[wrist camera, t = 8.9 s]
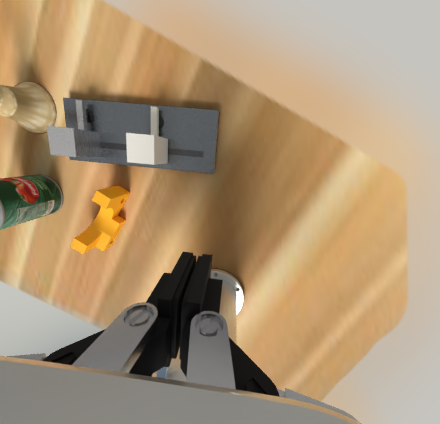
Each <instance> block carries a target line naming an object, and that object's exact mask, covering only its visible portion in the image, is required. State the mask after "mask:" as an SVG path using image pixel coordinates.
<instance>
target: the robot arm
mask: <svg viewBox="0 0 440 424" xmlns="http://www.w3.org/2000/svg"><path fill="white" fill-rule="evenodd" d="M211 266H212V255H207V254H203V255H202V256H199V257H198V259H197V262H196V256H194V255H193V253H190V252H183V253H182V254H181V256H180V258H179V260H178V262H177V264H176V265H175V267H174V269H173V271H172V273H164V274H163V275H162V277H161V279H160V280H159V282H158V284H157V285H156V287H155V289H154V290H153V292H152V293H151V295H150V297H149V298H148V300H147V302H146V303H144V302H143V303H137V304H133V305H131V306H129V307H127V308H126V309H125V310H124V311H123V312H122V313H121V314H120V315H119V316H118V317H117V318H116V319H115V320H114V321H113V322H112V323H111V324H110V325H109V326H108V327H107V329H105V330H103V331H100V332H98V333H96V334H94V335H91V336H89V337H87V338H85V339H82V340H80V341H78V342H75V343H73V344H70V345H68V346H66V347H64V348H61V349H59V350H57V351H55V352H53V353H52V354H50V355H49V356H48V357H46V354H31V355H20V356H7V357H5V356H0V424H361V423H359V422H358V421H357V420H356V419H355V418H354V417H353V416H351V415H350V414H348V413H346V412H344V411H343V410H340V409H338V408H335V407H332V406H330V405H327V404H325V403H322V402H320V401H317V400H315V399H312V398H310V397H307V396H304V395H302V394H299V393H297V392H294V391H292V390H289V389H287V388H285V392H284V391H282V390H279V389H277V388H276V386H275V385H274V383H273V382H272V381H271V379H270V378H269V377H268V376H267V375H266V374H265V373H264V372H263V371H262V370H261V369H260V368H259V367H258V366H257V365H256V364H255V363H254V362H253V361H252V360H251V359H250V358H249V357H248V356H247V355H246V354H245V353H244V352H243V351H242V350H241V349H240V348H239V347H238V346H237V345H236V315H237V314H238V313H239V311H240V310H241V308H242V306H243V302H244V293H243V289H242V286H241V284H240V282H239V281H238V280H237V279H236V278H235V277H234V276H233V275H231V274H230V273H228V272H226V271H223V270H219V269H211ZM162 367H167V371H166V379H164V378H157V377H156V376H157V371H158V370H159V369H161V368H162Z"/></svg>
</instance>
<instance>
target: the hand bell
mask: <svg viewBox="0 0 440 424" xmlns="http://www.w3.org/2000/svg"><path fill="white" fill-rule="evenodd" d="M0 115H1V116H4V117H8V118H11V119H14V120H16V122H17V123H18V124H19V125H20V126H22V127H23V128H24V129H26V130H27V131H30V132H32V133H44V132H47V126H53V125H54V123H55V120H56V107H55V104H54V101H53V99H52V97H51V96H50V94H49V93H48V92H47V91H46V90H45V89H44V88H43V87H42V86H40V85H38V84H36V83H33V82H22V83H19V84H17V85H16V86H15V87H10V86H4V85H0Z"/></svg>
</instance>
